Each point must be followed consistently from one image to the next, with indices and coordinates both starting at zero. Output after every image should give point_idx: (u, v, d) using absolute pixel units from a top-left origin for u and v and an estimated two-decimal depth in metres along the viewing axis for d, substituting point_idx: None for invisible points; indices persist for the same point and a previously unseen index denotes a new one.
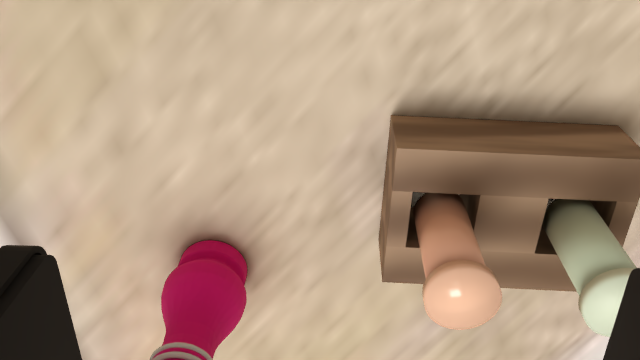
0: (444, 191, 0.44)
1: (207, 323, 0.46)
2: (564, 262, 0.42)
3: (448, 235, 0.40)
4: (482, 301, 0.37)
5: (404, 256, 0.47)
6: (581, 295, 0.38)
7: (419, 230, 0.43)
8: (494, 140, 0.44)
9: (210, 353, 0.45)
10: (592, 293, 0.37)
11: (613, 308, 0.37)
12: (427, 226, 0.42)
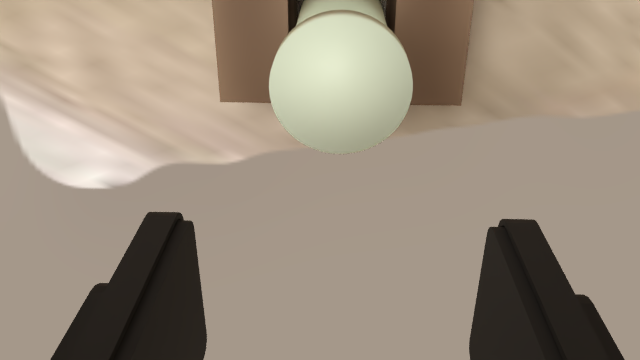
0: None
1: None
2: None
3: None
4: None
5: None
6: (348, 11, 0.19)
7: None
8: None
9: None
10: (374, 24, 0.19)
11: (340, 71, 0.20)
12: None
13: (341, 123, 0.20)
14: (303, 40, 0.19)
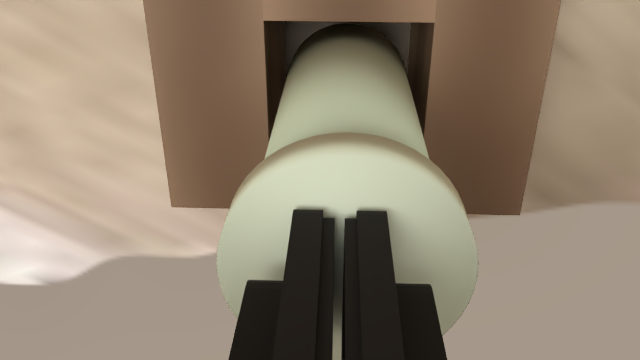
0: None
1: None
2: (333, 80, 0.14)
3: None
4: None
5: None
6: (360, 137, 0.11)
7: None
8: None
9: None
10: (409, 169, 0.10)
11: None
12: None
13: None
14: (277, 195, 0.10)
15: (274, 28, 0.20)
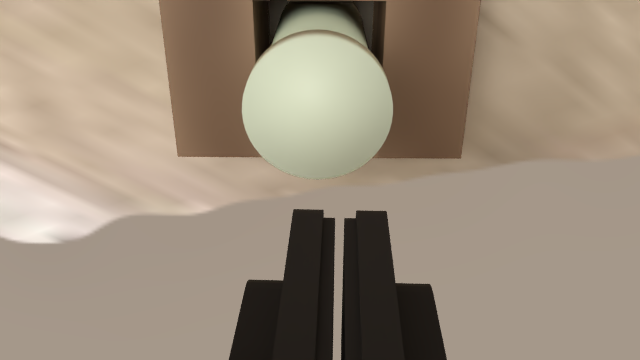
0: None
1: None
2: (309, 14, 0.22)
3: None
4: None
5: None
6: (324, 31, 0.18)
7: None
8: None
9: None
10: (350, 44, 0.18)
11: (316, 93, 0.19)
12: None
13: (318, 147, 0.19)
14: (277, 62, 0.18)
15: (260, 9, 0.25)
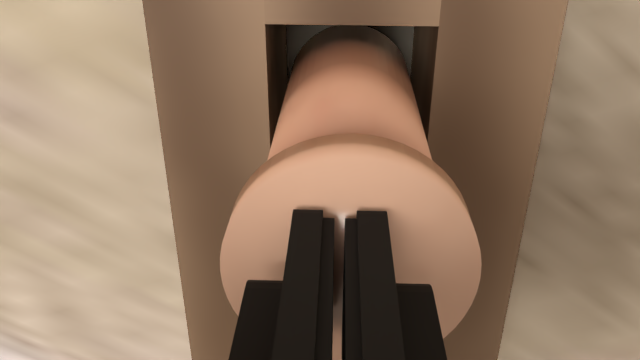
0: (436, 102, 0.18)
1: None
2: None
3: None
4: None
5: (235, 24, 0.17)
6: None
7: (364, 56, 0.16)
8: None
9: None
10: None
11: None
12: (398, 80, 0.16)
13: None
14: None
15: None
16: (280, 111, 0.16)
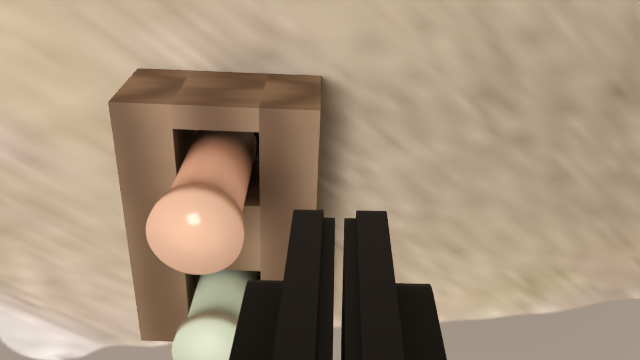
0: (262, 168, 0.35)
1: None
2: (217, 275, 0.39)
3: (244, 185, 0.33)
4: (197, 255, 0.30)
5: (157, 128, 0.34)
6: (215, 314, 0.36)
7: (222, 139, 0.35)
8: None
9: None
10: (227, 326, 0.35)
11: (210, 346, 0.36)
12: (236, 152, 0.34)
13: None
14: (189, 332, 0.35)
15: None
16: None
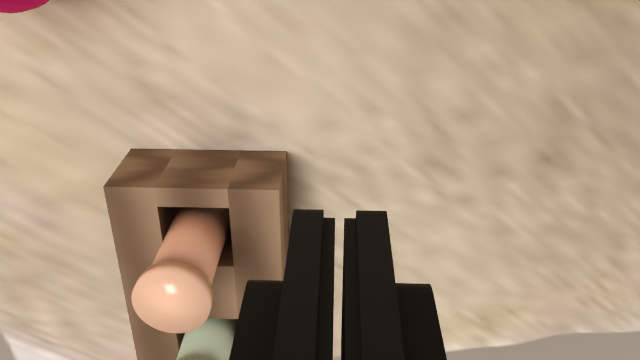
0: (233, 236, 0.42)
1: None
2: None
3: (215, 255, 0.40)
4: (174, 318, 0.37)
5: (145, 206, 0.41)
6: (196, 359, 0.42)
7: (199, 214, 0.41)
8: (284, 260, 0.45)
9: None
10: None
11: None
12: (209, 225, 0.41)
13: None
14: None
15: None
16: None
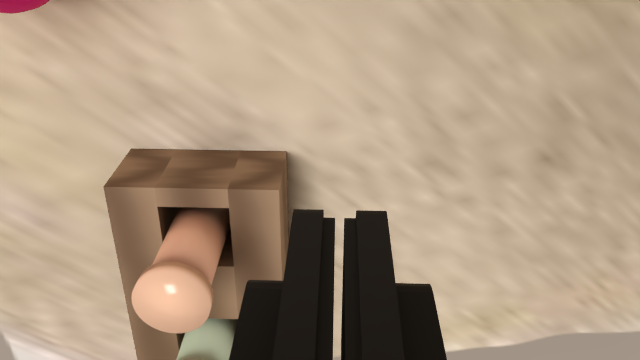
0: (233, 236, 0.42)
1: None
2: None
3: (215, 255, 0.40)
4: (174, 318, 0.37)
5: (145, 206, 0.41)
6: (197, 359, 0.42)
7: (199, 214, 0.41)
8: (284, 260, 0.45)
9: None
10: None
11: None
12: (210, 225, 0.41)
13: None
14: None
15: None
16: None
